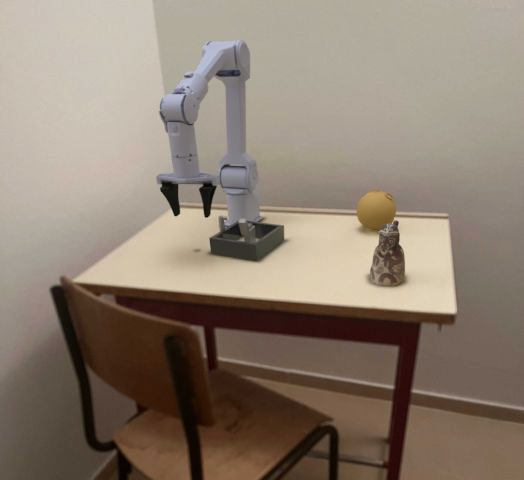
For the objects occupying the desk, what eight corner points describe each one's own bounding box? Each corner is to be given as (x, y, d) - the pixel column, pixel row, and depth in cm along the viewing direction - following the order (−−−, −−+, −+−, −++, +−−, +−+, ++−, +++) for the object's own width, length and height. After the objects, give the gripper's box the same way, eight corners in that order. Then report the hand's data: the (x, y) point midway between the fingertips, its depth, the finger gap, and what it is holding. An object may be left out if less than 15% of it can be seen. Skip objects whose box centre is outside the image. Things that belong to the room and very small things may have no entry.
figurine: (362, 279, 110) (366, 224, 103) (382, 268, 114) (386, 215, 107) (391, 288, 105) (396, 232, 99) (410, 277, 109) (416, 222, 103)
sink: (235, 233, 138) (233, 207, 134) (284, 240, 131) (283, 213, 128) (205, 252, 127) (202, 224, 124) (256, 261, 121) (255, 232, 117)
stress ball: (395, 236, 130) (398, 196, 125) (355, 235, 131) (357, 196, 126) (393, 222, 138) (396, 185, 133) (355, 222, 140) (357, 185, 134)
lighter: (249, 241, 132) (247, 210, 128) (256, 242, 132) (254, 211, 127) (240, 252, 126) (237, 220, 122) (247, 252, 126) (244, 220, 122)
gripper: (146, 158, 111) (156, 220, 119) (208, 159, 108) (215, 222, 115) (160, 151, 117) (169, 210, 124) (220, 151, 113) (226, 212, 121)
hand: (192, 215), depth 120 cm, fingers open, 7 cm apart
